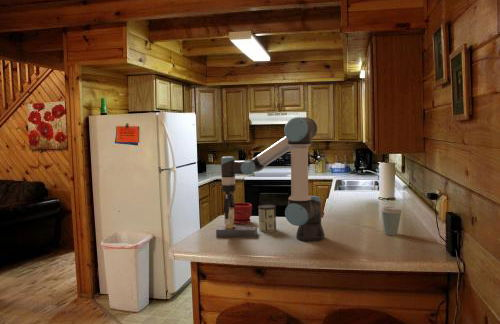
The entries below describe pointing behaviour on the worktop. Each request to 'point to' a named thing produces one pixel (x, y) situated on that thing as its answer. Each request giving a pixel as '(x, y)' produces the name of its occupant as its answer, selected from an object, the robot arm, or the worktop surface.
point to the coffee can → (267, 218)
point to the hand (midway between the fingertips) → (229, 221)
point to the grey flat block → (236, 232)
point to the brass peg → (231, 219)
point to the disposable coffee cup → (391, 220)
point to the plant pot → (242, 213)
